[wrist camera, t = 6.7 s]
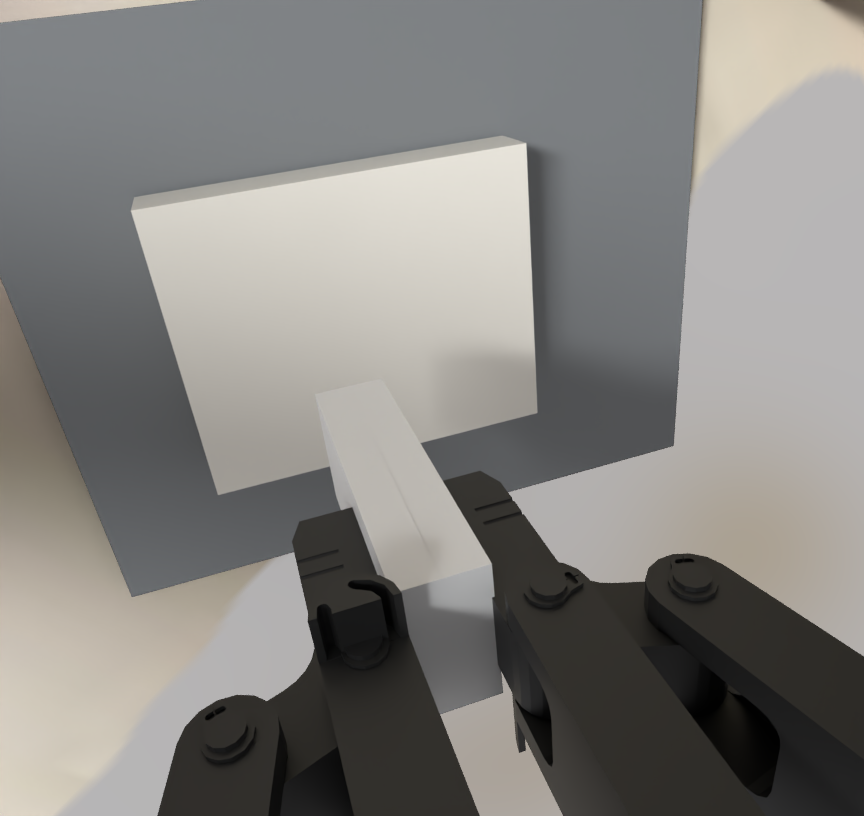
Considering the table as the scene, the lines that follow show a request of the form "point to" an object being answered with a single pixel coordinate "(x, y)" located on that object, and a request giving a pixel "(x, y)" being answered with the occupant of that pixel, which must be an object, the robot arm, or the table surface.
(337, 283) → the tile
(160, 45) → the mat
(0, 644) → the table surface
